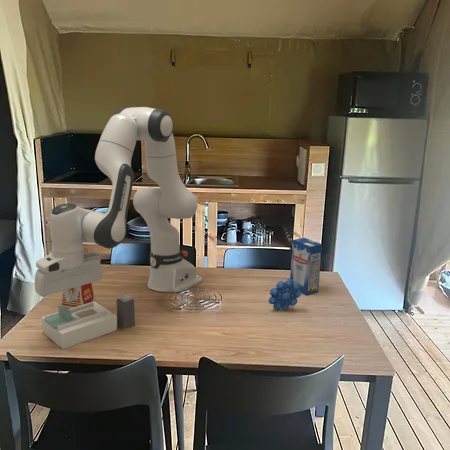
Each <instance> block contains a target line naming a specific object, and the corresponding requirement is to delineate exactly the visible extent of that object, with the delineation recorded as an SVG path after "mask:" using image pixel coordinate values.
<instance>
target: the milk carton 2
mask: <svg viewBox="0 0 450 450" xmlns="http://www.w3.org/2000/svg"><path fill="white" fill-rule="evenodd" d="M322 251H323V244H322V243H321V242H317V241H314V240H312V239H309V238H306V237H301V238H296V239H293V240H292V247H291V259H290V273H289V274H290V275H289V279H292V280H293V283H295V282H298V283H299V284H300V288H299V289H298V290H300V291H301V293H302V294H301V295H303V296H305V297H307V296H312V295H315V294H318V293H319V288H320V276H321V263H322Z"/></svg>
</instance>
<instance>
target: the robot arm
mask: <svg viewBox="0 0 450 450" xmlns="http://www.w3.org/2000/svg"><path fill="white" fill-rule="evenodd" d="M173 131H174V120H173V118H172V115H171V114H170V112H168V111H167V110H164V109H162V108H152V107H147V106H137V107H136V106H133V107H131V106H123V107H121V108H118V109H117V110H116V111H115V112H114V113H113V115H112V116H111V117H110V118H109V120H108V121H107V123H106V124H105V127H104V129H103V131H102V133H101V135H100V138H99V141H98V143H97V146H96V149H95V153H94V154H95V155H94V161H95V164H96V166H97V167H98V169H99V170H100V171H101V172H102V173H103V174H104V175H105V176H107V177H108V178H109V179H110V182H111V184H112V190H111V195H110V200H109V205H108V210H107V211H106V212H105V213H104V212H100V211H96V210H92V209H86V208H83V207H80V206H78V205H77V204H76V203H72V202H71V203H69V202H68V203H60V204H59V205H57V206H55V207H53V208H52V209H51V211H50V215H49V234H50V239H51V241H52V246H51V252H50V253H48V254H47V255H45V256H44V257H42V258H39V259H38V260H37V261H36V262H35V266H36V268H37V270H36V271H35V273H34V291H35V292H36V294H38V296H40V297H46V296H50V295H54V294H57V293H59V292H60V293H62V294H64V295H65V296H66V301H67V302H71V301H74V300H77V295H78V293H79V291H80V286H82V285H85V284H89V283H95V282H98V281H101V280H102V279H103V277H104V276H103V269H102V265H101V262H102V260H101V259H102V258H101V257H102V256H101V254H100V253H98V252H96V251H92V252H90V253H85V254H84V244H83V243H85V242H88V243H91V244H92V243H93V244H96V245H98V246H100V247H102V248H105V249H110V250H111V249H115V248H116V247H118V246H119V245H120V244H122V242H123V241H124V239H125V238H126V235H127V222H128V219H127V218H128V212H129V207H130V202H131V197H132V191H133V185H134V178H135V177H134V176H135V175H134V170H133V168H132V158H133V154H134V150H135V147H136V144H137V141H141V142H142V141H144V152H145V154H144V155H145V162H146V163H145V164H146V172H147V176H148V177H149V178H150V179H151V180H152V181H153V182H155V183H156V184H157V185H158V186H159V187H155V186H154V187H151V186H150V187H149V186H148V187H142V188H138V190H136V191H135V193H134V194H133V199H132V203H133V204H132V205H133V207H134V209H135V211H136V212H137V213H139V214H140V216H141V217H142V218H143V219H144V221H145V223H146V225H147V228H148V231H149V236H150V251H149V263H150V269H149V276H148V281H147V288H148V289H150V290H153V291H155V292H164V293H166V292H170V293H171V292H173V293H181V292H183V291H185V290H188V289H190V288H191V287H194V286H195V285H198V284H201V283H202V282H203V279H202V277H201V276H200V275H199V274H197V271H196V270H197V269H196V267H195V266H194V265H193V264H192V263H191V262H189V261H187V260H186V259H184V257H188V254H189V253H188V251H186V250H181V249H180V232H179V230H178V229H177V228H176V227H175V226H174V225H173V224H171V222H170V221H169V220H168V219H175V220H185V219H191V218H193V217H194V215H196V213H197V211H198V199H197V197H196V196H195V194H194V193H193V192H192V191H190V190H189V188H187V186H186V185H185V184H184V182H183V180H182V179H181V177H180V174H179V170H178V169H179V168H178V161H177V151H176V143H175V142H176V141H175V139H174V133H173ZM71 288H74V291H73V294H69V295H68V292H69V289H71Z"/></svg>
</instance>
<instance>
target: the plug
mask: <svg viewBox="0 0 450 450" xmlns="http://www.w3.org/2000/svg"><path fill="white" fill-rule="evenodd" d="M135 310H136V309H135V299H134V298H132V296H130V295H129V294H124V295H121V296H120V295H119V297H118V298H117V299H116V316H117V327H120V328H121V329H123V330H126V329H129V328H131V327H135V326H136V323H135V322H136V319H135V318H136V316H135V315H136V314H135Z"/></svg>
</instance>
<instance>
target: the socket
mask: <svg viewBox="0 0 450 450" xmlns="http://www.w3.org/2000/svg"><path fill="white" fill-rule="evenodd" d="M68 309H69V310H70V311H71V316H73V317H74V318H75V319H77V320H75V321H72V322H69V323H65V324H62V325H59V326H57V329H54V328H52V327H51V326H50V325H49V324H48V323H47V322H45V320H44V318H48V317H51V316H54V315H58V314H59V311H58V312H54V313H51V314H48V315H44V316H42V317H41V325H42V328H41V329H42V333H44V334H45V335H46V336H47V337H48V338H49V339H50V340H52V341H53V342H54V343H55V345H57V346H58V347H59V348H60V349H62V350H65V349H69V348H70V347H74V346H77V345H79V344H82V343H85V342H87V341H91V340H93V339H97V338H98V337H102V336H104V335H106V334H110V333H113V332H115V331H118V322H117V314H114V313H113V312H112V311H110V310H109V309H107V308H106V307H104V306H102V305H101V304H99V303H98V302H96V301H94V302H91V303H87V304H84V305H80V306H77V307H74V308H68Z"/></svg>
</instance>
